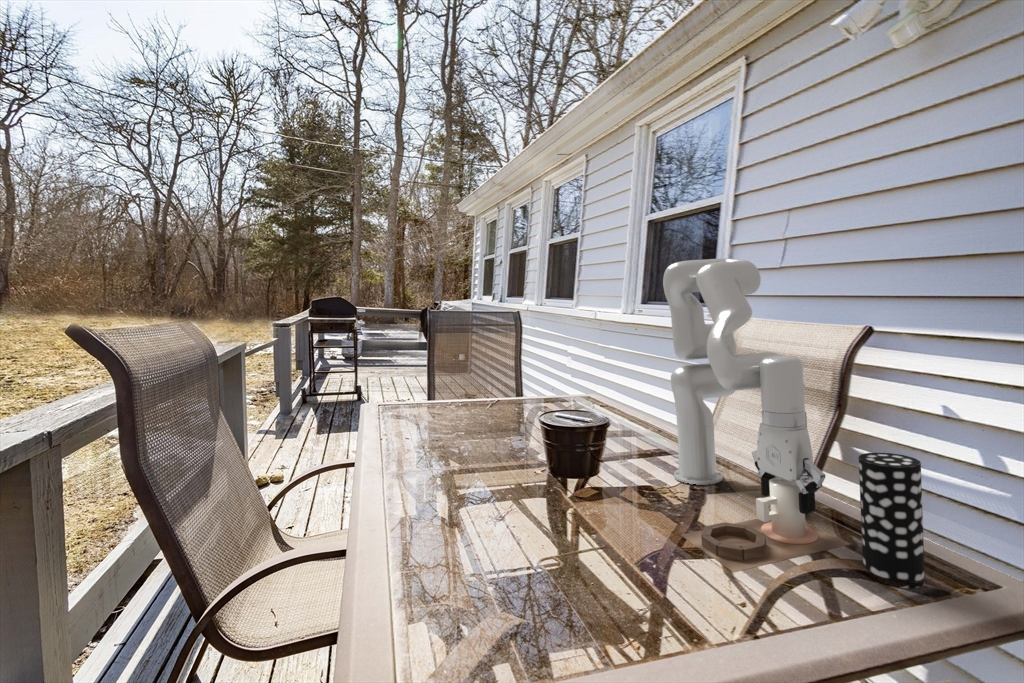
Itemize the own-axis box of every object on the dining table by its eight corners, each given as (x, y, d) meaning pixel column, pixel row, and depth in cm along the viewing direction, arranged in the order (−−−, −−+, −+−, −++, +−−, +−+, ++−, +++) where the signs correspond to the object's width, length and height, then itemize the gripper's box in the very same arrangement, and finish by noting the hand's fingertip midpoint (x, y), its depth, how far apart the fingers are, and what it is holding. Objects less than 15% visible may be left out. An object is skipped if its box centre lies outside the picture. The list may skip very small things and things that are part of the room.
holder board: (680, 540, 102) (679, 525, 102) (784, 518, 108) (783, 503, 108) (733, 578, 86) (732, 560, 86) (851, 550, 93) (850, 533, 93)
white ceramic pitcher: (794, 521, 103) (791, 474, 103) (818, 533, 97) (816, 483, 97) (750, 531, 100) (747, 483, 100) (773, 544, 95) (770, 492, 94)
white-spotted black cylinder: (911, 565, 86) (907, 453, 85) (934, 591, 79) (930, 468, 78) (856, 560, 89) (851, 452, 88) (872, 585, 81) (868, 466, 80)
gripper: (737, 413, 105) (741, 492, 106) (803, 430, 89) (808, 523, 89) (766, 409, 107) (770, 486, 108) (837, 424, 90) (841, 516, 91)
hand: (787, 503), depth 99 cm, fingers open, 9 cm apart
